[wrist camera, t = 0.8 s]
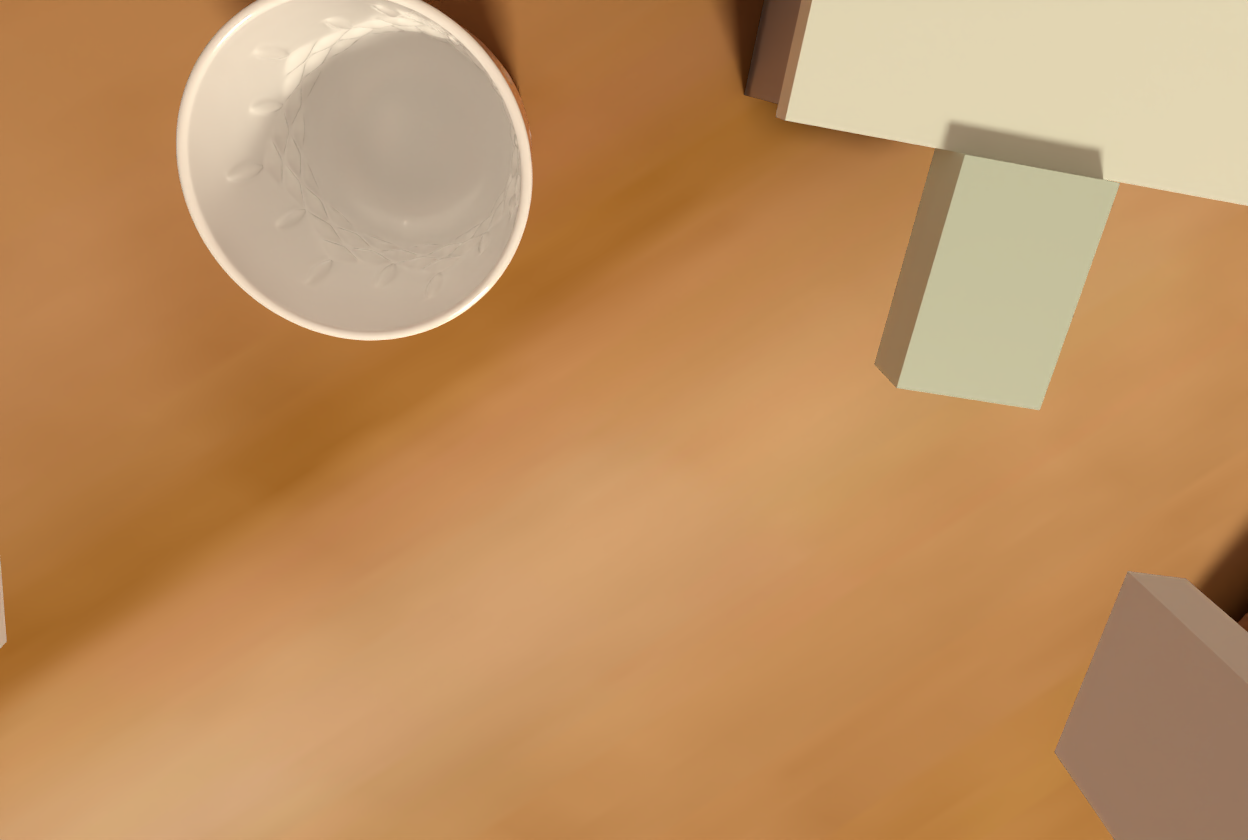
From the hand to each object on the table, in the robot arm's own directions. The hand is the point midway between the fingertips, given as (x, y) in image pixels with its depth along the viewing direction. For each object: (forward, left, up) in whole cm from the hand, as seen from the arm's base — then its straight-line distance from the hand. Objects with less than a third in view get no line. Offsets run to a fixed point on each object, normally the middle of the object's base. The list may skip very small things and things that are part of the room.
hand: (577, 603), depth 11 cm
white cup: (-5, +3, -23) cm, 23 cm away
